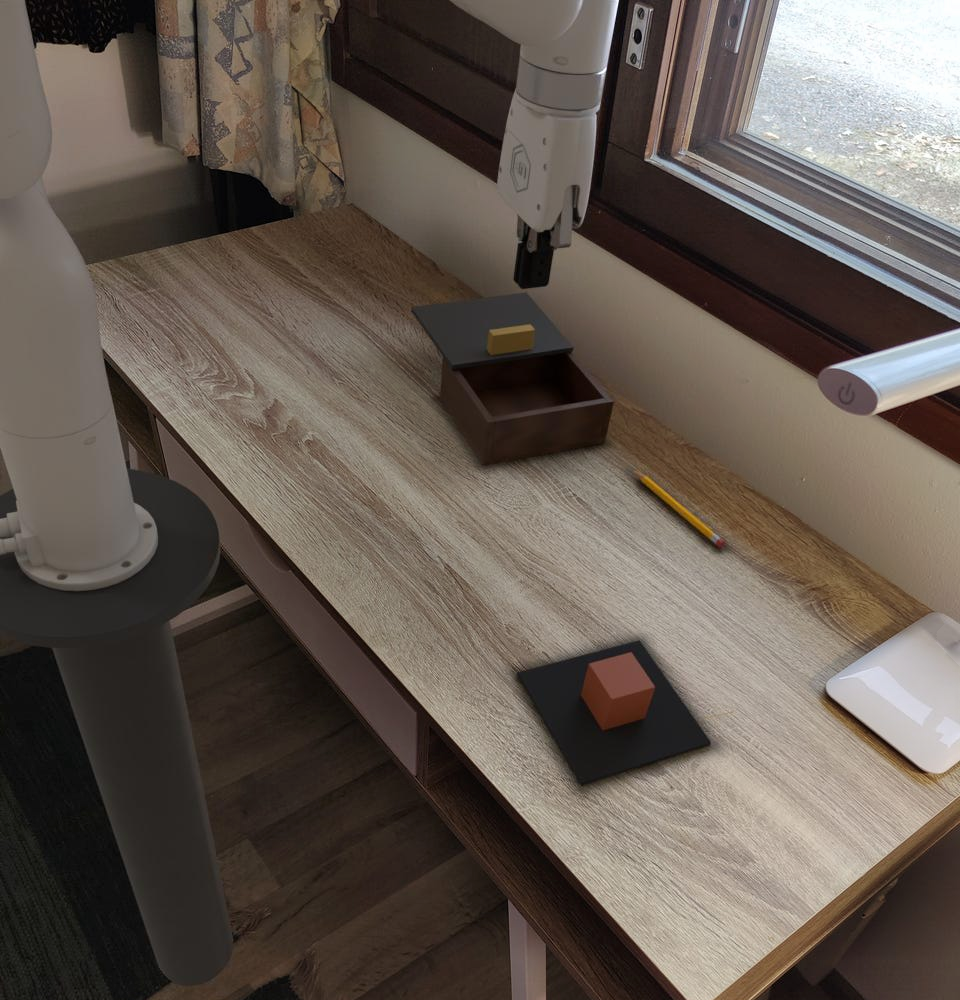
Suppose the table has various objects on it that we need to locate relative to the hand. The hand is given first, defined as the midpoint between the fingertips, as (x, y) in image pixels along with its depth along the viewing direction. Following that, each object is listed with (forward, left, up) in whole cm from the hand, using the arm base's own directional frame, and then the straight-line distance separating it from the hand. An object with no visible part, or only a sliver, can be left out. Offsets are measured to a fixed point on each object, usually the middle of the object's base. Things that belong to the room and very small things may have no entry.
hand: (530, 283), depth 99 cm
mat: (-9, -41, -16) cm, 45 cm away
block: (-9, -41, -15) cm, 45 cm away
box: (+1, -1, -16) cm, 16 cm away
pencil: (+10, -20, -16) cm, 27 cm away
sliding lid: (+1, +9, -10) cm, 14 cm away
